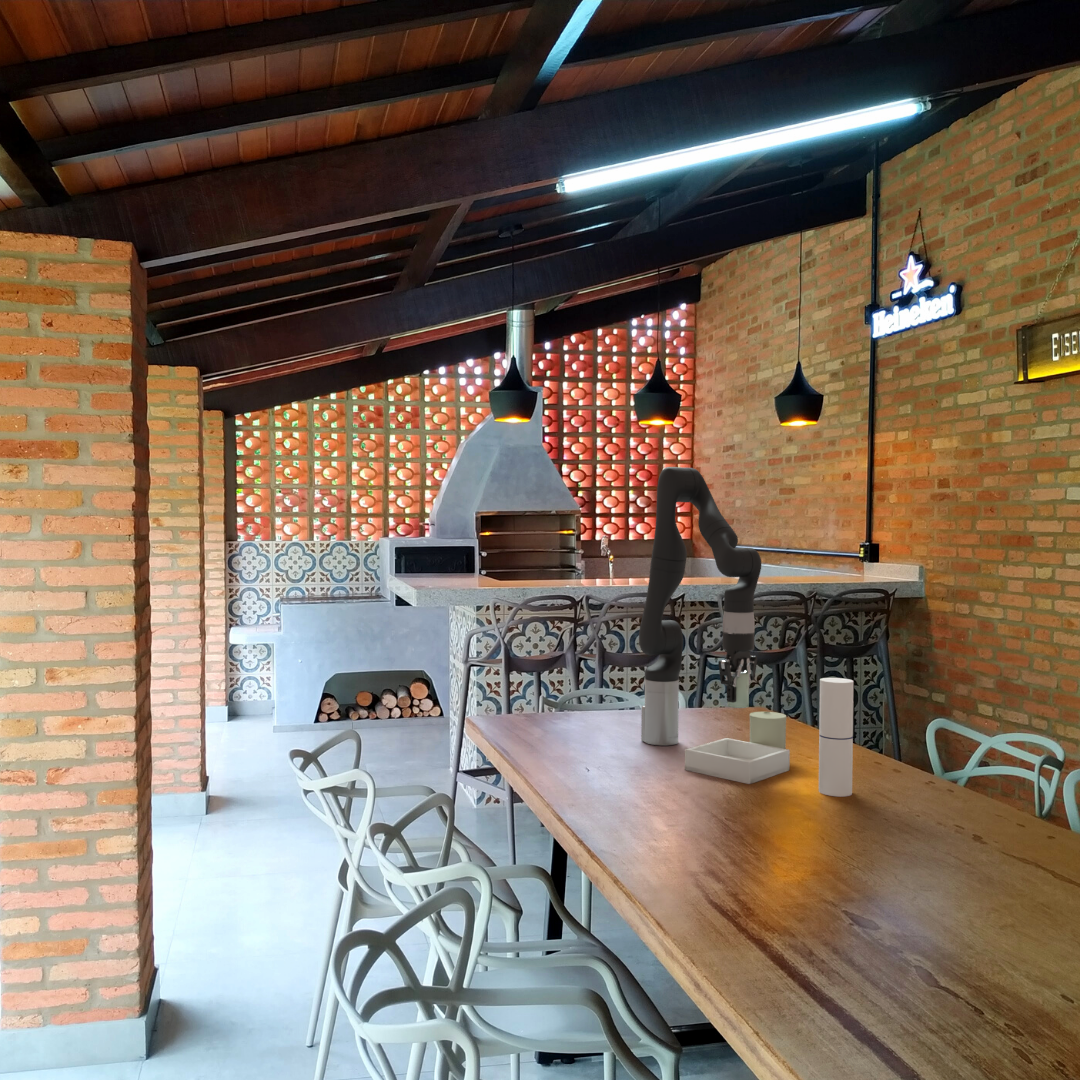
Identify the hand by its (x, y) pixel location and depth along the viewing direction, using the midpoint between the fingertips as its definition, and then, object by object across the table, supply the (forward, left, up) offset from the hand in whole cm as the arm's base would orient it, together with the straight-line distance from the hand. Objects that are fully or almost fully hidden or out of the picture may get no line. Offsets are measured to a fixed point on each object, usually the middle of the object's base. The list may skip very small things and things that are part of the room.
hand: (737, 700), depth 234 cm
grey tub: (0, 0, -17) cm, 17 cm away
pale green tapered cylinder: (0, 0, -1) cm, 1 cm away
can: (0, +14, -17) cm, 22 cm away
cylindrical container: (+26, -1, -17) cm, 31 cm away
